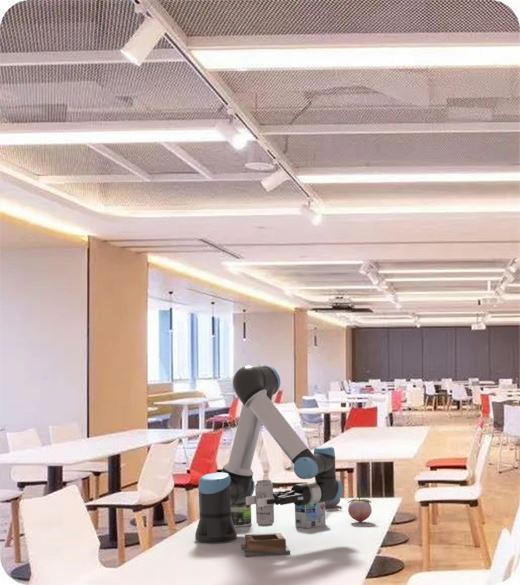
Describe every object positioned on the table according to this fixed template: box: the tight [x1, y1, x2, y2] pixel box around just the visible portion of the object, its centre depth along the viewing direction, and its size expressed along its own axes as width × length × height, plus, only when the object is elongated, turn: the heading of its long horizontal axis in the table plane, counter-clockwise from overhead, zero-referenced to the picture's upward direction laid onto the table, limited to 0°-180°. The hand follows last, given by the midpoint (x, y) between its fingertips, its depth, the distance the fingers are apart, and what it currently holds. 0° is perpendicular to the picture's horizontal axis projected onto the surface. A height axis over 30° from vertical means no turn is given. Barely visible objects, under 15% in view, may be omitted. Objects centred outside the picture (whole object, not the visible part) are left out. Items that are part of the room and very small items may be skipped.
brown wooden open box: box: [240, 532, 291, 558], centre depth 338 cm, size 15×15×5 cm
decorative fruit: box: [347, 496, 373, 523], centre depth 388 cm, size 9×8×10 cm
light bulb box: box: [294, 502, 326, 529], centre depth 384 cm, size 11×7×11 cm, turn 131°
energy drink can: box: [254, 479, 275, 527], centre depth 339 cm, size 6×6×15 cm
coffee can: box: [231, 501, 252, 528], centre depth 391 cm, size 10×10×14 cm
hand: (252, 502), depth 336 cm, fingers closed on energy drink can, 6 cm apart
